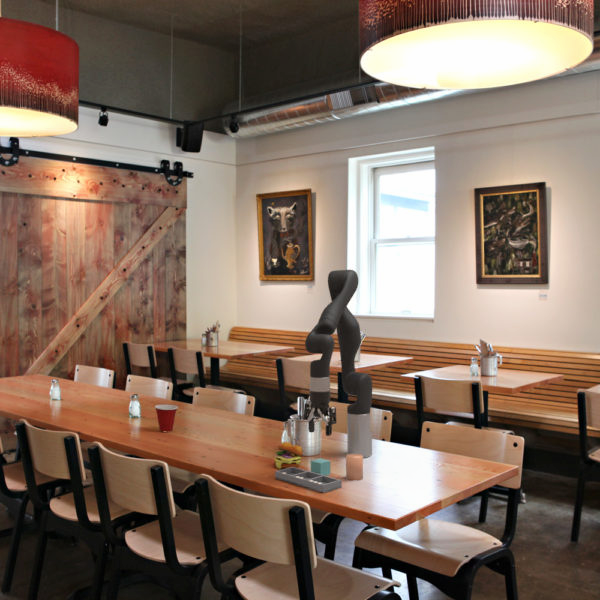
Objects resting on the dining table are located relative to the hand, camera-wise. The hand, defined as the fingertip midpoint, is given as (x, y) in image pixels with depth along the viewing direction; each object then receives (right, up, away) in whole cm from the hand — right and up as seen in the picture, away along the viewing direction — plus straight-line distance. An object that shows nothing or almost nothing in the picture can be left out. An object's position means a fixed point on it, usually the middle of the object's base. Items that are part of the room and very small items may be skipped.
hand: (319, 433), depth 250 cm
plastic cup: (-70, -14, +76) cm, 104 cm away
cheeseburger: (-12, -15, +12) cm, 23 cm away
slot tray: (-5, -15, -10) cm, 19 cm away
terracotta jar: (+12, -15, -5) cm, 20 cm away
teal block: (0, -15, 0) cm, 15 cm away
